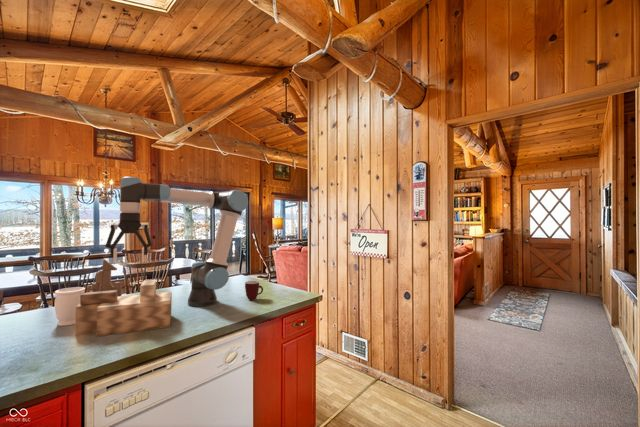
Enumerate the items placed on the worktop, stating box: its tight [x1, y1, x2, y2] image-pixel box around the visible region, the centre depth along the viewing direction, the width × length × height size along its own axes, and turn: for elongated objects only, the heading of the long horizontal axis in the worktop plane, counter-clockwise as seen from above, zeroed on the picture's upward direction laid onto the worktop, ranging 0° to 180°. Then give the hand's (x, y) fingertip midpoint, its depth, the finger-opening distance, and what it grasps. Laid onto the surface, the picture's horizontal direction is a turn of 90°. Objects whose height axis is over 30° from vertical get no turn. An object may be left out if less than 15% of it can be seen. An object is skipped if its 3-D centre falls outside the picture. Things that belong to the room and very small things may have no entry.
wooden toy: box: [89, 258, 123, 297], centre depth 155 cm, size 16×7×25 cm, turn 121°
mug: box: [244, 280, 264, 301], centre depth 172 cm, size 10×8×10 cm
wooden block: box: [80, 290, 118, 305], centre depth 124 cm, size 12×4×4 cm, turn 115°
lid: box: [97, 278, 173, 311], centre depth 130 cm, size 26×16×8 cm, turn 115°
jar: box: [54, 286, 86, 327], centre depth 131 cm, size 11×10×15 cm
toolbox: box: [74, 295, 173, 337], centre depth 128 cm, size 34×16×12 cm, turn 115°
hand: (129, 263), depth 128 cm, fingers open, 10 cm apart
